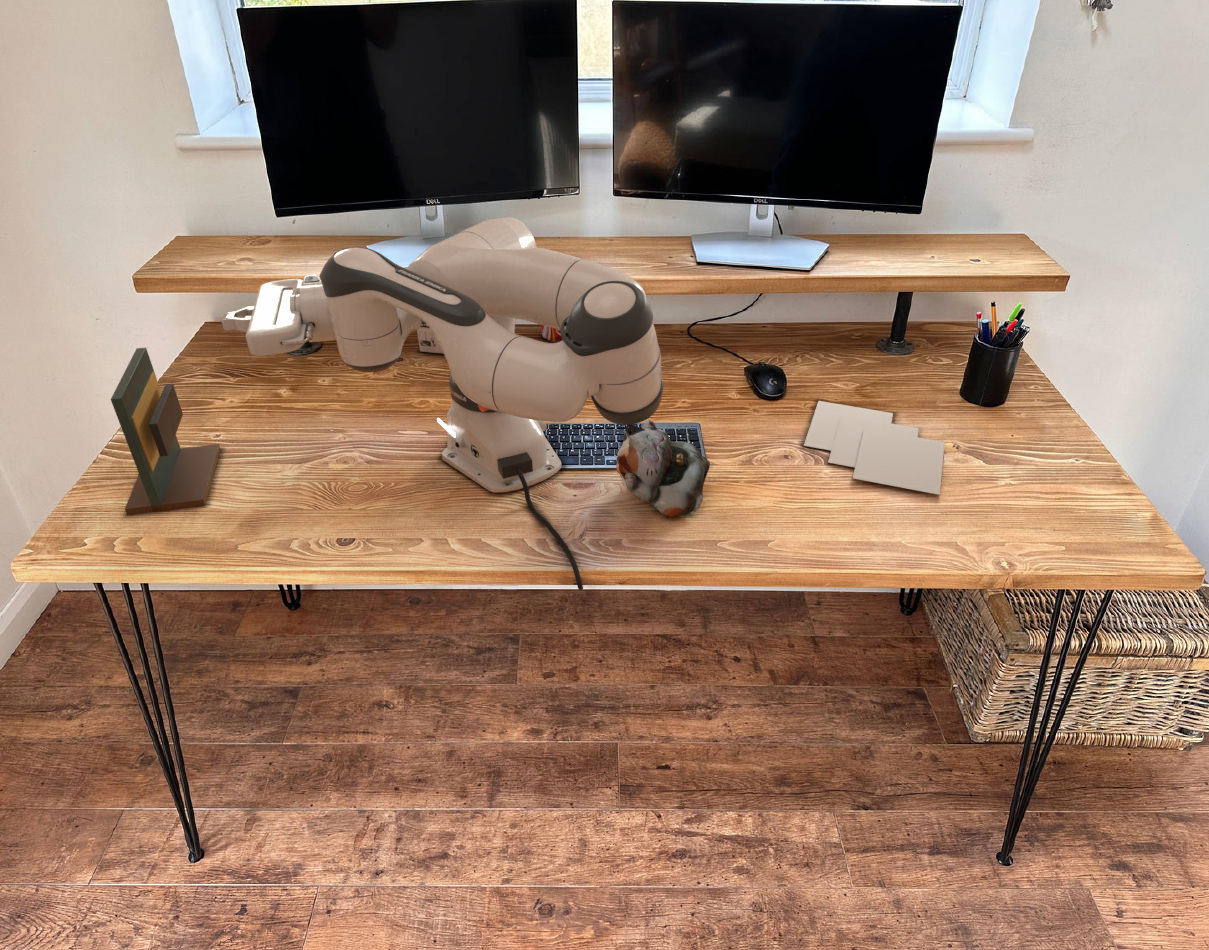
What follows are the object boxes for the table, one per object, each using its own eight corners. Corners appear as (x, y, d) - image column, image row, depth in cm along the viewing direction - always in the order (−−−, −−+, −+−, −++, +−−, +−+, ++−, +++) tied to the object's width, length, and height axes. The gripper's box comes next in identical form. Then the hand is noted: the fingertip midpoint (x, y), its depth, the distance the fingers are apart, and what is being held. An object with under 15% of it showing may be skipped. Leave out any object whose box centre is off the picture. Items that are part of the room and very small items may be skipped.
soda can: (549, 347, 189) (547, 295, 182) (536, 334, 194) (533, 283, 188) (579, 340, 192) (577, 288, 185) (565, 327, 197) (563, 276, 190)
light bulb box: (448, 355, 187) (442, 308, 181) (418, 352, 188) (412, 305, 182) (465, 333, 195) (460, 287, 189) (436, 330, 196) (430, 285, 190)
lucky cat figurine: (694, 527, 138) (654, 468, 130) (631, 530, 145) (589, 474, 137) (721, 456, 146) (684, 397, 138) (660, 462, 154) (622, 406, 146)
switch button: (183, 414, 150) (172, 383, 147) (168, 455, 140) (156, 423, 136) (175, 415, 150) (165, 384, 147) (160, 456, 140) (148, 424, 136)
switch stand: (220, 449, 158) (187, 343, 146) (205, 505, 144) (167, 393, 132) (149, 457, 156) (110, 350, 144) (126, 515, 142) (81, 402, 130)
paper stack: (795, 470, 150) (795, 467, 150) (818, 400, 170) (818, 397, 169) (938, 498, 144) (939, 494, 143) (946, 422, 163) (946, 418, 162)
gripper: (316, 361, 132) (219, 371, 130) (323, 305, 148) (237, 313, 146) (307, 322, 128) (207, 332, 126) (316, 270, 145) (227, 277, 142)
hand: (223, 321), depth 136 cm, fingers closed
